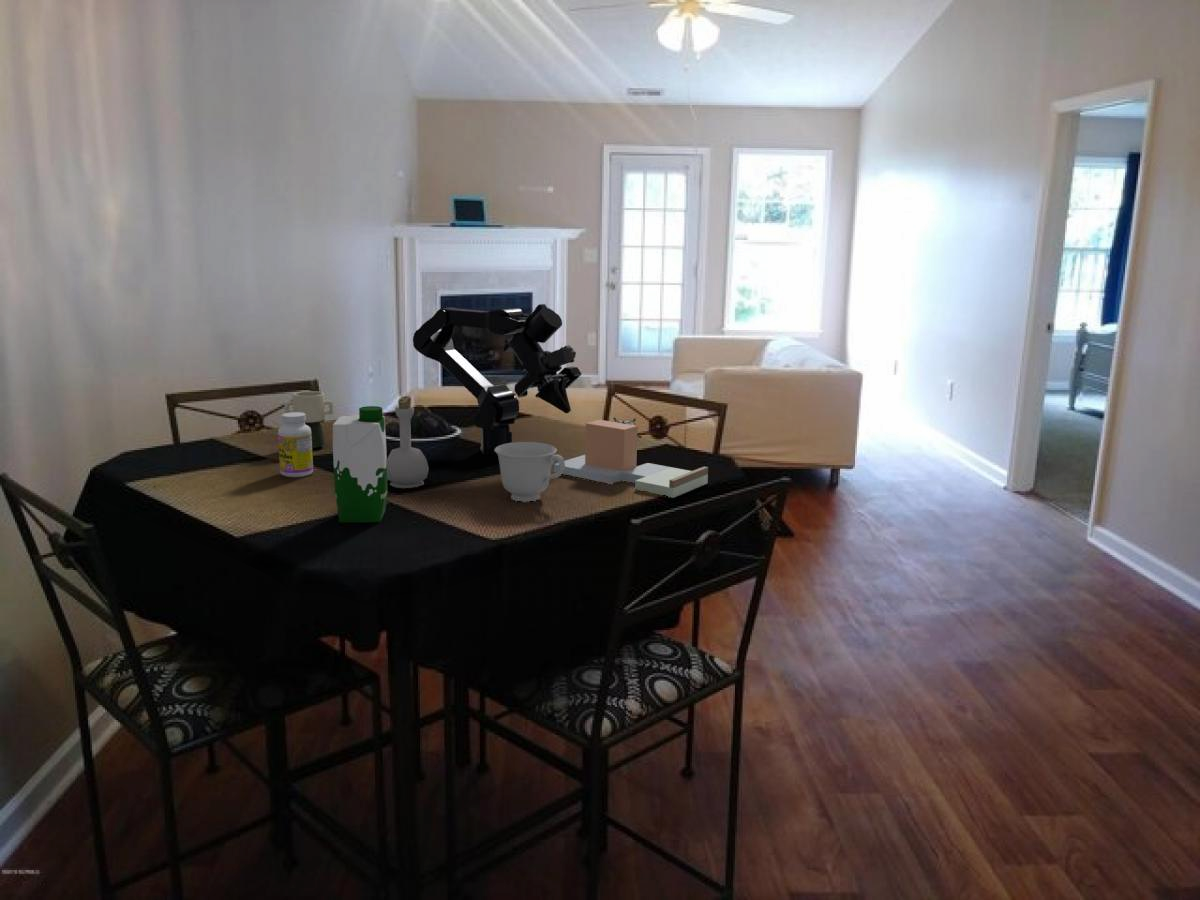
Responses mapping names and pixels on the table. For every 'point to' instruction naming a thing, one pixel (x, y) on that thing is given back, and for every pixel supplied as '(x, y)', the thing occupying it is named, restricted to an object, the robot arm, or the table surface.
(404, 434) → the potion bottle
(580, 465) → the trap board
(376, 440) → the milk carton
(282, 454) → the supplement bottle
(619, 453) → the block
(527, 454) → the teacup
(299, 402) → the character mug
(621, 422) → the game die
